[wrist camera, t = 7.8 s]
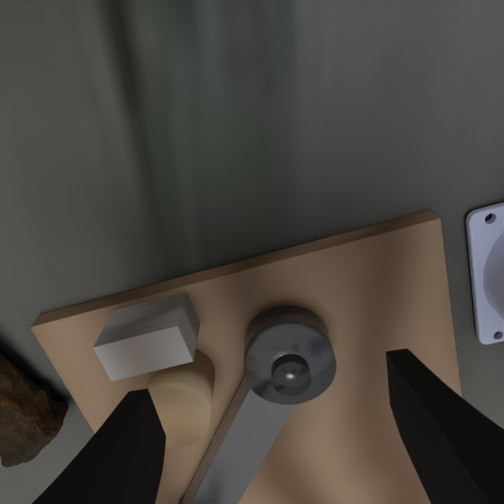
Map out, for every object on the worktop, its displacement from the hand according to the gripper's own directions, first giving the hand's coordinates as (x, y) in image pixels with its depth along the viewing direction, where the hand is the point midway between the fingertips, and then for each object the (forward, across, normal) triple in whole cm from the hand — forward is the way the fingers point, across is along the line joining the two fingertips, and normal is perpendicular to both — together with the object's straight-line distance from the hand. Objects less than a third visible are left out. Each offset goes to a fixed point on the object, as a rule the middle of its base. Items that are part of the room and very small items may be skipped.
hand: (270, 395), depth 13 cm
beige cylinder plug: (+9, +6, +6) cm, 12 cm away
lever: (+8, +3, +10) cm, 13 cm away
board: (+10, +1, +10) cm, 14 cm away
